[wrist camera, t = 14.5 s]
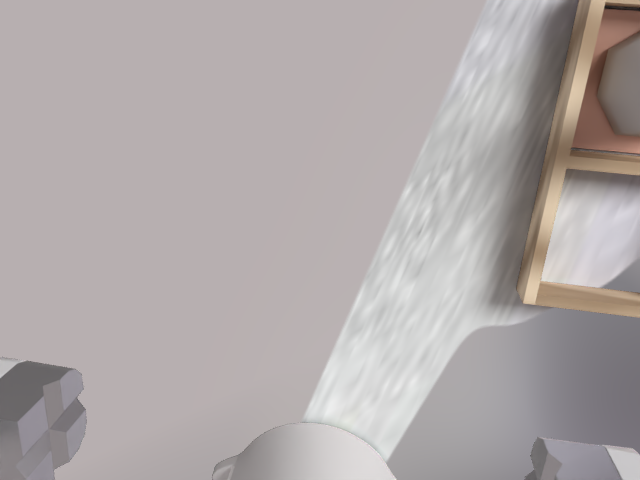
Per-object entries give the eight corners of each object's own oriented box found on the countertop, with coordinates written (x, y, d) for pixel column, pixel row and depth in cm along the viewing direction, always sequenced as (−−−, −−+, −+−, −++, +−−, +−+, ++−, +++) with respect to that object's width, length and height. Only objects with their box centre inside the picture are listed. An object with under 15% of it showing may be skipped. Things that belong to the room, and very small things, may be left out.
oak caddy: (665, 306, 40) (681, 322, 38) (516, 288, 41) (523, 303, 39) (765, 1, 33) (793, -2, 31) (581, -11, 34) (594, -14, 32)
